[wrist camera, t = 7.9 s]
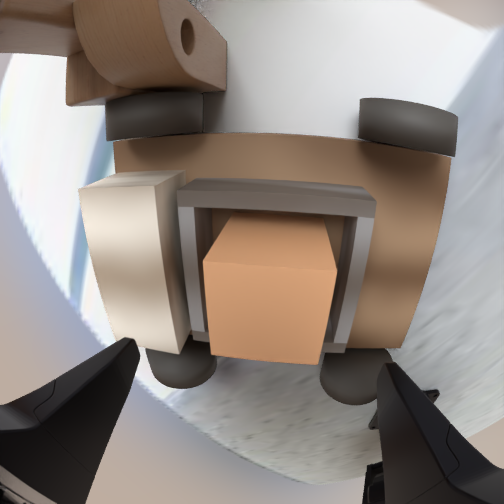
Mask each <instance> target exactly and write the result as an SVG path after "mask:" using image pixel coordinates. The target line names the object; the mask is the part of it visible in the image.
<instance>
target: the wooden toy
mask: <svg viewBox="0 0 504 504" xmlns="http://www.w3.org/2000/svg"><path fill="white" fill-rule="evenodd" d="M0 53H25V54H41V55H52V56H62V57H67V69H66V105H67V106H91V105H105V103H107V102H109V101H112V100H115V99H119V98H123V97H128V96H133V95H140V94H148V93H159V92H195V93H199V92H212V91H226V68H227V41H226V40H225V39H224V38H223V37H222V36H221V35H220V33H219V32H218V31H217V30H216V29H215V28H214V27H213V26H212V25H211V24H210V23H209V22H208V21H207V19H206V18H205V17H204V16H203V15H202V14H201V13H200V12H199V11H198V10H197V9H196V8H195V7H194V6H193V5H192V4H191V3H190V2H189V1H188V0H0Z"/></svg>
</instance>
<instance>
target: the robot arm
mask: <svg viewBox="0 0 504 504" xmlns="http://www.w3.org/2000/svg"><path fill="white" fill-rule="evenodd" d="M139 360H140V352H139V349H138V346H137V343H136V341H135V339H133V338H129V337H124V338H122V339H120V340H119V341H117V342H115V343H114V344H112V345H110V346H109V347H107V348H105V349H104V350H102V351H101V352H99V353H97V354H96V355H94V356H93V357H91V358H89V359H88V360H86V361H84V362H82V363H81V364H79V365H77V366H76V367H74V368H73V369H71V370H69V371H68V372H66V373H64V374H63V375H61V376H59V377H58V378H56V379H54V380H53V381H51V382H49V383H48V384H46V385H44V386H42V387H41V388H39V389H37V390H35V391H33V392H31V393H29V394H27V395H25V396H22V397H20V398H18V399H16V400H14V401H12V402H10V403H7V404H4V405H0V504H85V503H86V500H87V497H88V494H89V492H90V489H91V486H92V483H93V480H94V478H95V475H96V472H97V470H98V467H99V464H100V462H101V459H102V457H103V454H104V452H105V449H106V446H107V444H108V442H109V439H110V437H111V434H112V432H113V429H114V427H115V425H116V422H117V420H118V417H119V415H120V413H121V410H122V408H123V406H124V403H125V401H126V399H127V396H128V394H129V392H130V389H131V386H132V382H133V379H134V376H135V373H136V370H137V367H138V364H139ZM376 384H377V413H376V414H375V416H374V418H373V419H372V421H371V423H370V424H369V429H371V430H374V429H379V433H380V441H381V450H382V460H383V461H381V462H378V463H375V464H370V465H367V472H366V476H365V485H364V493H363V501H362V504H504V469H501V468H499V467H497V466H495V465H493V464H492V463H491V462H490V461H489V460H487V459H486V458H485V457H484V456H483V455H482V454H481V453H480V452H479V451H478V450H477V449H475V448H474V447H473V446H472V445H471V444H470V443H469V442H468V441H467V440H466V439H465V438H464V437H463V436H462V435H461V434H460V433H459V432H458V430H457V429H456V428H455V427H454V426H453V425H452V424H450V422H449V420H448V419H447V418H446V417H445V416H444V415H443V414H442V413H441V411H440V410H439V409H438V408H437V407H436V406H435V405H434V404H433V403H434V402H435V401H436V399H437V398H438V396H439V395H440V393H439V390H432V391H424V392H422V390H421V389H420V388H419V387H418V386H417V385H416V384H415V383H414V382H413V381H412V379H411V378H410V377H409V376H408V375H407V374H406V373H405V372H404V371H403V370H402V369H401V368H400V367H399V365H398V364H397V363H395V362H385V363H384V364H383V365H382V368H381V370H380V372H379V374H378V377H377V382H376Z"/></svg>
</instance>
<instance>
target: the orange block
mask: <svg viewBox="0 0 504 504" xmlns="http://www.w3.org/2000/svg"><path fill="white" fill-rule="evenodd" d="M203 270H204V284H205V296H206V307H207V318H208V328H209V338H210V347H211V355H217V356H224V357H232V358H240V359H249V360H259V361H269V362H281V363H295V364H312V365H318V361H319V357H320V353H321V349H322V345H323V340H324V336H325V331H326V327H327V322H328V317H329V312H330V307H331V302H332V297H333V292H334V287H335V281H336V275H337V268H336V264H335V260H334V256H333V253H332V249H331V245H330V241H329V237H328V234H327V230H326V227H325V223H324V219H323V218H315V217H302V216H288V215H272V214H256V213H237V212H233V214H232V216H231V217H230V219H229V220H228V222H227V223H226V225H225V226H224V228H223V230H222V231H221V233H220V234H219V236H218V238H217V239H216V241H215V242H214V244H213V246H212V247H211V249H210V250H209V252H208V254H207V255H206V257H205V258H204V260H203Z"/></svg>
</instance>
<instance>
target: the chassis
mask: <svg viewBox="0 0 504 504" xmlns="http://www.w3.org/2000/svg"><path fill="white" fill-rule="evenodd" d="M105 115H106V139H107V141H113V140H120V141H115V142H113V147H114V160H115V172H116V174H114V175H111V176H109V177H106V178H104V179H101V180H99V181H96V182H94V183H92V184H89V185H87V186H84V187H82V188H80V189H78V192H79V199H80V205H81V211H82V217H83V222H84V227H85V233H86V237H87V242H88V247H89V251H90V256H91V260H92V264H93V268H94V272H95V276H96V279H97V283H98V287H99V290H100V294H101V297H102V301H103V304H104V307H105V310H106V313H107V317H108V320H109V323H110V326H111V329H112V331H113V334H114V337H115V340H116V341H119V340H120V339H122V338H124V337H129V338H133V339H135V341H136V343H137V346H139V347H144V348H146V355H147V358H148V361H149V364H150V367H151V370H152V373H153V375H154V376H155V378H156V379H157V380H158V381H159V382H160V383H162V384H164V385H166V386H168V387H171V388H176V389H187V388H193V387H196V386H199V385H201V384H203V383H204V382H206V381H207V380H208V379H209V378H211V376H212V375H213V374H214V372H215V370H216V366H217V359H216V355H211V347H210V338H209V328H208V318H207V307H206V296H205V284H204V270H203V260H204V258H205V257H206V255H207V254H208V252H209V250H210V249H211V247H212V246H213V244H214V242H215V241H216V239H217V238H218V236H219V234H220V233H221V231H222V230H223V228H224V226H225V225H226V223H227V222H228V220H229V219H230V217H231V216H232V214H233V212H237V213H256V214H272V215H288V216H302V217H315V218H323V219H324V223H325V227H326V230H327V234H328V237H329V241H330V245H331V249H332V253H333V256H334V260H335V264H336V268H337V275H336V281H335V287H334V292H333V297H332V302H331V307H330V312H329V317H328V322H327V327H326V331H325V336H324V340H323V345H322V349H321V352H326V353H325V356H324V360H323V364H322V368H321V372H320V382H321V385H322V387H323V389H324V390H325V392H326V393H327V394H328V395H329V396H330V397H332V398H333V399H335V400H336V401H338V402H341V403H344V404H348V405H363V404H367V403H370V402H372V401H374V400H375V399H377V384H376V382H377V377H378V374H379V372H380V370H381V368H382V365H383V364H384V363H385V362H393V361H392V358H391V356H390V354H389V353H388V351H387V350H386V349H385V348H401V346H402V343H403V341H404V338H405V336H406V334H407V331H408V329H409V326H410V323H411V321H412V318H413V315H414V313H415V310H416V307H417V304H418V301H419V299H420V296H421V293H422V290H423V287H424V283H425V280H426V277H427V274H428V270H429V267H430V263H431V260H432V256H433V252H434V249H435V245H436V241H437V237H438V232H439V228H440V223H441V219H442V214H443V209H444V204H445V198H446V192H447V186H448V180H449V173H450V165H451V158H450V157H447V156H452V157H455V152H456V142H457V128H458V117H457V116H456V115H454V114H452V113H450V112H448V111H445V110H442V109H439V108H435V107H432V106H428V105H424V104H419V103H414V102H408V101H402V100H395V99H385V98H363V99H360V110H359V132H358V138H361V139H366V140H371V141H377V142H382V143H388V144H382V143H376V142H369V141H361V140H353V139H344V138H335V137H324V136H312V135H298V134H278V133H199V134H179V133H190V132H200V131H203V94H201V93H195V92H159V93H148V94H140V95H133V96H128V97H123V98H119V99H115V100H112V101H109V102H107V103H105ZM168 134H179V135H168ZM158 135H165V136H158ZM148 136H153V137H148ZM139 137H143V138H139ZM131 138H133V139H131ZM122 139H125V140H122ZM389 144H393V145H389ZM395 145H398V146H395ZM401 146H404V147H401ZM406 147H409V148H406ZM412 148H414V149H412ZM417 149H419V150H417ZM422 150H423V151H422ZM427 151H428V152H427ZM431 152H433V153H431ZM436 153H438V154H436ZM440 154H442V155H440ZM444 155H447V156H444Z"/></svg>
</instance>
